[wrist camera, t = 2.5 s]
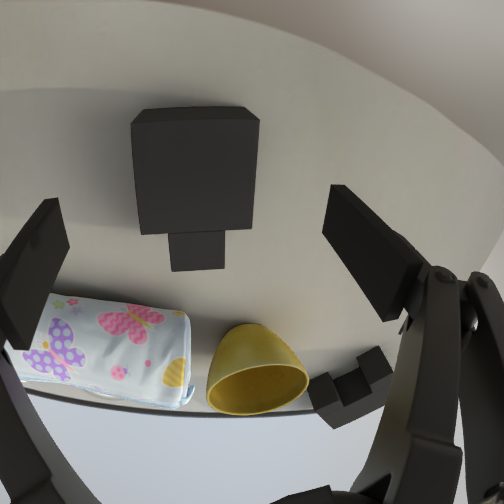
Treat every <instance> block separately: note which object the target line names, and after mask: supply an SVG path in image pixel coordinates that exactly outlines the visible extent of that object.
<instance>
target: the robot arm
mask: <svg viewBox="0 0 504 504" xmlns="http://www.w3.org/2000/svg"><path fill="white" fill-rule="evenodd" d="M322 233H323V235H324V236H325V237H326V239H327V240H328V242H329V243H330V244H331V246H332V247H333V249H334V250H335V252H336V253H337V254H338V256H339V257H340V259H341V260H342V262H343V263H344V264H345V266H346V267H347V269H348V270H349V272H350V273H351V275H352V276H353V278H354V279H355V280H356V282H357V283H358V285H359V286H360V288H361V289H362V291H363V292H364V294H365V295H366V297H367V298H368V300H369V301H370V303H371V305H372V306H373V308H374V309H375V311H376V312H377V314H378V315H379V317H380V318H381V320H382V322H386V321H391V320H396V319H398V318H399V316H400V314H401V312H402V310H403V308H405V310H406V311H407V312H408V316H407V318H406V320H405V322H404V324H403V325H402V327H401V329H400V331H399V333H398V334H399V335H401V333H402V332H403V334H402V339H401V344H400V348H399V353H398V357H397V362H396V366H395V370H394V374H393V378H392V382H391V386H390V389H389V393H388V397H387V400H386V404H385V407H384V411H383V414H382V417H381V420H380V423H379V427H378V430H377V433H376V436H375V439H374V441H373V445H372V447H371V450H370V453H369V455H368V458H367V461H366V463H365V465H364V468H363V469H362V471H361V473H360V474H359V475H358V477H357V478H356V480H355V482H354V483H353V485H352V487H351V489H350V491H349V492H347V491H331V488H330V485H326V486H323V487H320V488H316V489H312V490H309V491H305V492H300V493H296V494H292V495H288V496H286V497H284V498H281V499H280V500H277V501H275V502H273V503H270V504H453V502H454V498H455V494H456V489H457V485H458V480H459V476H460V470H461V465H462V455H463V452H462V450H461V448H460V447H458V446H455V445H454V433H455V426H456V418H457V409H458V399H459V401H460V409H461V416H462V426H463V436H464V450H465V470H466V471H465V472H466V491H467V498H468V504H504V302H503V300H502V298H501V296H500V294H499V292H498V290H497V288H496V286H495V284H494V282H493V281H492V280H491V279H490V278H489V276H487V275H485V274H484V273H480V272H475V271H474V272H472V273H471V275H470V277H469V279H468V281H461V280H457V277H456V276H455V275H454V274H453V273H452V272H451V271H450V270H448V269H446V268H444V267H441V266H431V265H430V264H429V262H428V261H427V260H426V259H425V258H424V257H423V256H422V255H421V254H420V253H419V252H418V251H417V250H415V248H414V247H413V246H412V245H411V244H410V243H409V242H408V241H407V240H406V239H405V238H404V237H403V236H402V235H400V234H399V233H397V232H396V231H394V230H392V229H391V228H390V227H389V226H388V225H387V224H386V223H385V222H384V221H383V220H382V219H381V218H380V217H379V216H378V215H377V214H375V213H374V212H373V211H372V210H371V209H370V208H369V207H368V206H367V205H366V204H365V203H364V202H363V201H362V200H361V199H360V198H358V197H357V196H356V195H355V194H354V193H353V192H352V191H351V190H350V189H349V188H347V187H346V186H345V185H332V184H331V187H330V193H329V198H328V204H327V209H326V214H325V219H324V224H323V230H322ZM69 248H70V245H69V242H68V238H67V234H66V230H65V226H64V222H63V218H62V214H61V209H60V205H59V200H58V198H50V199H44V201H43V202H42V203H41V204H40V206H39V207H38V208H37V209H36V211H35V212H34V213H33V214H32V216H31V217H30V218H29V220H28V221H27V222H26V224H25V225H24V226H23V228H22V229H21V230H20V232H19V233H18V235H17V236H16V237H15V239H14V240H13V242H12V243H11V245H10V246H9V247H8V249H7V250H6V252H5V253H4V254H2V255H1V256H0V480H1V482H2V483H3V485H4V487H5V489H6V491H7V493H8V495H9V497H10V499H11V503H10V504H102V503H101V502H99V500H97V498H96V497H95V496H94V495H93V494H92V492H91V491H90V490H89V489H88V488H87V486H86V485H85V484H84V483H83V481H82V480H81V479H80V477H79V476H78V475H77V473H76V472H75V471H74V470H73V468H72V467H71V465H70V464H69V463H68V461H67V460H66V458H65V457H64V455H63V454H62V452H61V451H60V449H59V448H58V446H57V445H56V443H55V442H54V440H53V439H52V437H51V436H50V434H49V432H48V431H47V429H46V428H45V426H44V424H43V422H42V421H41V419H40V417H39V416H38V414H37V412H36V410H35V408H34V407H33V405H32V403H31V401H30V399H29V397H28V395H27V393H26V391H25V389H24V387H23V385H22V383H21V381H20V379H19V377H18V375H17V373H16V371H15V368H14V366H13V364H12V362H11V359H10V357H9V355H8V353H7V351H6V350H5V348H4V345H5V342H6V340H8V342H9V343H10V345H11V346H12V348H13V350H24V351H29V350H30V347H31V344H32V341H33V338H34V335H35V332H36V329H37V326H38V323H39V320H40V318H41V315H42V312H43V310H44V307H45V304H46V302H47V299H48V297H49V294H50V292H51V289H52V287H53V284H54V282H55V279H56V277H57V275H58V272H59V270H60V268H61V266H62V263H63V261H64V259H65V257H66V255H67V253H68V250H69ZM477 320H478V326H477V329H476V330H475V327H474V325H475V323H476V322H477Z"/></svg>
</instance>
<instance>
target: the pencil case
mask: <svg viewBox="0 0 504 504" xmlns="http://www.w3.org/2000/svg"><path fill="white" fill-rule="evenodd" d="M4 348H5V350H6V351H7V353H8V355H9V357H10V359H11V362H12V364H13V366H14V368H15V371H16V373H17V375H18V377H19V379H20V381H21V382H27V380H29V381H38V382H55V383H62V384H67V385H70V386H74V387H78V388H82V389H85V390H89V391H92V392H96V393H100V394H106V395H110V396H116V397H120V398H124V399H127V400H131V401H134V402H137V403H141V404H146V405H151V406H157V407H161V408H165V409H170V410H174V409H177V408H178V407H179V405H185V404H187V403H188V401H189V400H190V398H191V397H192V395H193V393H194V389H195V386H194V385H192V386H191V387H190V388H188V386H189V382H190V375H191V328H190V320H189V318H188V316H187V315H186V314H185V312H183V311H177V310H171V309H170V310H166V309H160V308H154V307H147V306H142V305H136V304H130V303H121V302H112V301H103V300H97V299H90V298H82V297H75V296H63V295H58V294H54V293H50V294H49V297H48V299H47V302H46V304H45V307H44V310H43V312H42V315H41V318H40V320H39V323H38V326H37V329H36V332H35V335H34V338H33V341H32V344H31V347H30V350H29V351H24V350H13V348H12V346H11V345H10V343H9V342H8V340H6V342H5V345H4Z"/></svg>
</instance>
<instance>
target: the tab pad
mask: <svg viewBox="0 0 504 504" xmlns="http://www.w3.org/2000/svg"><path fill="white" fill-rule="evenodd" d="M259 125H260V119H258V118H257V117H256V116H255V115H254V114H252V113H251V112H250V111H249V110H248V109H246V108H245V107H230V106H210V107H176V108H158V109H145V110H142V112H141V113H140V114H139V115H138V116H137V117H136V118H135V119H134V120H133V121H132V122H131V141H132V156H133V168H134V179H135V189H136V199H137V207H138V215H139V223H140V231H141V235H148V234H165V233H168V242H169V252H170V261H171V270H172V272H177V271H194V270H210V269H224V268H225V230H241V229H252V220H253V207H254V193H255V179H256V166H257V152H258V138H259Z"/></svg>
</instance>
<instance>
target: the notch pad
mask: <svg viewBox="0 0 504 504" xmlns="http://www.w3.org/2000/svg"><path fill="white" fill-rule="evenodd" d="M357 361H358V363H359V365H360V368H358V369H356V370H354V371H352V372H350V373H348V374H346V375H344V376H342V377H340V378H338V379H336V380H334V381H333V380H332V378H331V377H330V375H329V374H328V372H327V373H325V374H323V375H320V376H318V377H316V378H314V379H312V380H310V381H309V384H308V386H307V391H308V394H309V397H310V400H311V402H312V405H313V408H314V411H315V412H316V413H317V414H318V415H319V416H320V417H321V418H322V419H323V420H324V421H325V422H326V423H327V424H328V425H330V426H331V427H332V428H333V429H336V428H338V427H341V426H343V425H345V424H347V423H350V422H352V421H354V420H356V419H358V418H360V417H362V416H364V415H366V414H368V413H370V412H372V411H374V410H376V409H378V408H380V407H382V406H384V405H385V404H386V400H387V397H388V393H389V389H390V386H391V382H392V378H393V374H394V372H393V370H392V368H391V366H390V365H389V363H388V361H387V359H386V357H385V356H384V354H383V352H382V350H381V348H380V347H379V346H377V347H375V348H374V349H372V350H370V351H368V352H366V353H364V354H362V355H361V356H359V357H357Z"/></svg>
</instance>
